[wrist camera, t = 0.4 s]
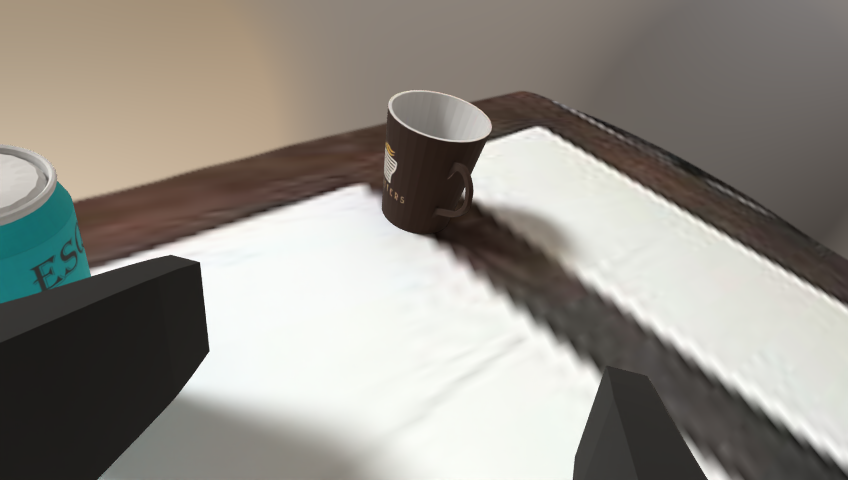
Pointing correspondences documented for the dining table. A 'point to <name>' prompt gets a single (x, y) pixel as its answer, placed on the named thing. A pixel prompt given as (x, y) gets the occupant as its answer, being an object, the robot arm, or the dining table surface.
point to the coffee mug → (430, 158)
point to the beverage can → (36, 227)
